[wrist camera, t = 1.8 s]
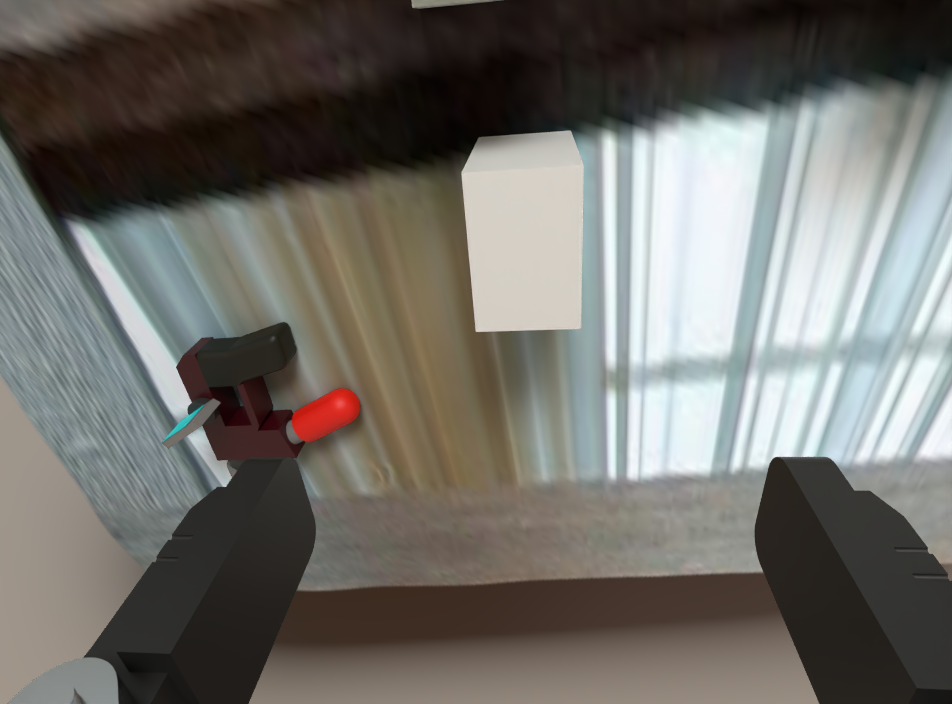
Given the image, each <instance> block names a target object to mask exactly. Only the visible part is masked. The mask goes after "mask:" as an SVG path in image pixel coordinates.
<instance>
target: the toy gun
mask: <svg viewBox="0 0 952 704" xmlns="http://www.w3.org/2000/svg"><path fill="white" fill-rule="evenodd" d="M295 353H296V346H295V343H294V339H293V336H292V333H291V330H290V327H289V325H288V324H287V323H285V322H282V323H278V324H276V325H273V326H270V327H267V328H264V329H261V330H259V331H256V332H253V333H250V334H247V335H245V336H242V337H234V338H219V339H213V337H209V338H201V339H200V340H199V341H198V342H197V343H196V344H195V345H194V346H193V347H192V348H191V349H190V350H189V351H187V352H186V353H185V354H184V355H183V356H182V358H181V360H180V362H179V363H178V365H177V367H176V368H177V370H178V373H179V375H180V377H181V379H182V382H183V384H184V386H185V388H186V390H187V393H188V395H189V397H190V399H191V401H192V403H191V404H190V405H189V407H188V414H189V415H188V416H187V417H186V418H184V419H183V420H181V421H180V423H179V424H178V425H177V426H176V427H175V428H174V429H173V430H172V431H171V433H170V434H169V435H168V436H167V437H166V438H165V439H164V440H163V442H162V444H163V445H165V446H166V447H167V448H170V447H171V446H173V445H174V444H176V443H177V442H179V441H180V440H181V439H183V438H184V437H186V436H187V435H189V434H190V433H192V432H193V431H195V430H196V429H198V428H199V427H201V426H203V428H204V430H205V432H206V436H207V438H208V440H209V442H210V444H211V447H212V449H213V451H214V453H215V455H216V458H217V460H228V462H227V467H228V470H229V472H230V474H231V476H232V478H233V476H234V475H235V473H236V472H237V470H238V469H239V467H240V466H241V464H242V463H243V462H244V461H245V460H246V459H248V458H251V457H290V458H297V456H298V454H299V452H300V450H301V449H302V447H303V445H304V443H305V442H313V441H315V440H317V439H319V438H321V437H323V436H325V435H327V434H329V433H331V432H333V431H335V430H337V429H339V428H341V427H343V426H345V425H347V424H349V423H351V422H353V421H354V420H355V419H356V418H357V416H358V415H359V412H360V401H359V399H358V397H357V396H356V394H355V393H353V392H352V391H350V390H348V389H336V390H334V391H332V392H330V393H328V394H326V395H324V396H322V397H321V398H319V399H317V400H315V401H313V402H311V403H309V404H308V405H306V406H304V407H302V408H300V409H298V410H297V411H295V412H294V414H293V412H292V410H275V411H272V408H273V404H272V401H271V398H270V396H269V393H268V390H267V387H266V385H265V382H264V379H263V376H262V375H265V374H269V373H272V372H275V371H278V370H281V369H283V368H284V367H285V366H286V365H287V364H288V362H289V361H290V360H291V358H292V357H293V356H294V354H295ZM233 386H237V389H238V391H239V394H240V397H241V399H242V402H243V404H244V406H240V403H239V401H238V398H237V396H236V393H235V391H234V388H233Z"/></svg>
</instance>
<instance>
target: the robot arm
mask: <svg viewBox="0 0 952 704" xmlns="http://www.w3.org/2000/svg"><path fill="white" fill-rule="evenodd" d="M315 535H316V525H315V519H314V515H313V512H312V509H311V505H310V502H309V499H308V496H307V493H306V489H305V486H304V483H303V480H302V477H301V474H300V470H299V467H298V465H297V463H296V461H295V460H294V459H293V458H290V457H251V458H248V459H246V460H245V461H244V462H243V463H242V464H241V466H240V467H239V469H238V470H237V472H236V473H235V475H234V476H233V478H232V479H231V481H230V482H229V484H228V485H227V487H217V488H216V489H214V490H213V491H212V492H211V493H209V494H208V495H207V496H206V497H205V498H203V499H202V500H201V501H200V502H199V503H197V504H196V505H195V506H194V507H192V508H191V509H190V510H189V512H188V513H187V515H186V516H185V517H184V519H183V520H182V522H181V523H180V524H179V526H178V527H177V529H176V530H175V531H174V533H173V534H172V539H171V540H168V541H167V543H166V544H165V545H164V547H163V548H162V550H161V551H160V552H159V554H158V555H157V560H156V562H152V564H151V565H150V566H149V568H148V569H147V571H146V572H145V573H144V575H143V576H142V578H141V579H140V580H139V582H138V583H137V585H136V586H135V587H134V589H133V590H132V592H131V593H130V594H129V596H128V597H127V599H126V600H125V601H124V603H123V604H122V606H121V607H120V608H119V610H118V611H117V612H116V614H115V615H114V617H113V618H112V620H111V621H110V622H109V624H108V625H107V627H106V628H105V629H104V631H103V632H102V633H101V635H100V636H99V638H98V639H97V641H96V642H95V643H94V645H93V646H92V647H91V649H90V650H89V651H88V652H87V654H86V655H85V656H84V658H81V659H75V660H72V661H69V662H65V663H63V664H61V665H58V666H56V667H54V668H52V669H50V670H49V671H47V672H45V673H43V674H42V675H40V676H39V677H37V678H36V679H34V680H33V681H32V682H30V683H29V684H28V685H27V686H25V687H24V688H23V689H22V690H21V691H19V692H18V693H17V694H16V695H15V696H14V697H13V698H12V699H11V700H10V701H9V703H8V704H249V701H250V699H251V697H252V694H253V692H254V689H255V687H256V685H257V682H258V680H259V678H260V675H261V673H262V670H263V668H264V665H265V663H266V661H267V658H268V656H269V654H270V652H271V649H272V647H273V644H274V642H275V639H276V637H277V635H278V632H279V630H280V628H281V626H282V623H283V621H284V618H285V616H286V614H287V611H288V609H289V607H290V604H291V602H292V599H293V597H294V595H295V592H296V590H297V588H298V585H299V583H300V581H301V578H302V576H303V573H304V571H305V569H306V566H307V564H308V562H309V559H310V557H311V554H312V551H313V548H314V543H315ZM755 545H756V551H757V555H758V559H759V562H760V565H761V567H762V570H763V572H764V574H765V577H766V579H767V581H768V584H769V586H770V588H771V591H772V593H773V595H774V598H775V600H776V602H777V605H778V607H779V609H780V612H781V614H782V617H783V619H784V621H785V624H786V626H787V628H788V631H789V633H790V635H791V638H792V640H793V642H794V645H795V647H796V650H797V652H798V654H799V657H800V659H801V661H802V663H803V666H804V668H805V671H806V673H807V675H808V677H809V680H810V682H811V685H812V687H813V689H814V692H815V694H816V696H817V699H818V701H819V704H952V581H949V579H948V574H947V572H946V571H945V570H944V568H943V567H942V566H941V564H940V563H939V562H938V560H937V559H936V558H935V556H934V555H933V554H929V553H928V547H927V546H926V545H925V543H924V542H923V541H922V539H921V538H920V537H919V535H918V534H917V533H916V532H915V530H914V529H913V528H912V526H911V525H910V524H909V522H908V521H907V520H906V518H905V517H904V516H903V515H901V514H900V513H899V512H897V511H896V510H895V509H893V508H892V507H891V506H889V505H888V504H887V503H885V502H884V501H883V500H881V499H880V498H879V497H877V496H876V495H875V494H873V493H872V492H871V491H854V490H853V488H852V487H851V485H850V484H849V482H848V481H847V480H846V478H845V477H844V475H843V474H842V472H841V471H840V470H839V468H838V467H837V465H836V464H835V463H834V462H833V461H832V460H831V459H830V458H828V457H775V458H774V459H772V461H771V463H770V465H769V468H768V472H767V477H766V481H765V485H764V489H763V494H762V498H761V502H760V506H759V510H758V515H757V519H756V524H755Z"/></svg>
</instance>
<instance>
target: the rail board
mask: <svg viewBox="0 0 952 704" xmlns="http://www.w3.org/2000/svg"><path fill="white" fill-rule="evenodd" d="M411 1H412V8H418V9H421V8H431V7H441V6H451V5H461V4H471V3H482V2H492V1H502V0H411Z"/></svg>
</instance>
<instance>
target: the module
mask: <svg viewBox="0 0 952 704" xmlns="http://www.w3.org/2000/svg"><path fill="white" fill-rule="evenodd" d="M583 166H584V165H583V162H582V160H581V157H580V154H579V152H578V149H577V146H576V143H575V141H574V138H573V135H572V133H571V131H559V132H545V133H531V134H517V135H503V136H489V137H479V138H478V140H477V142H476V144H475V146H474V148H473V150H472V152H471V154H470V156H469V158H468V160H467V162H466V165H465V167H464V169H463V171H462V173H461V174H462V185H463V196H464V207H465V218H466V229H467V240H468V251H469V261H470V272H471V283H472V294H473V305H474V316H475V327H476V332H490V331H523V330H557V329H581V293H582V230H583Z"/></svg>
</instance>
